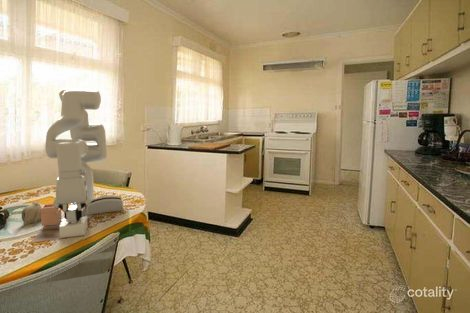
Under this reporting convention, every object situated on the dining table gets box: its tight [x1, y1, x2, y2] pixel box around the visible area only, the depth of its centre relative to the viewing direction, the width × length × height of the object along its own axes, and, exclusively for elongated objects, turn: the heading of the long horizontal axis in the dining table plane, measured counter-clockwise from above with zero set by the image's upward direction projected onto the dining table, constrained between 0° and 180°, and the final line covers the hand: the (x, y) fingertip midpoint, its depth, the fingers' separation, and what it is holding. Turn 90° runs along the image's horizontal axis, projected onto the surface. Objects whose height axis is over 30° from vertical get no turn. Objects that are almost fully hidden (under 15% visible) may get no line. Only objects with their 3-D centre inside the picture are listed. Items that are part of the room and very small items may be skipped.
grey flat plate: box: [30, 216, 92, 243], centre depth 109 cm, size 20×17×2 cm
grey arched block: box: [85, 195, 124, 216], centre depth 129 cm, size 17×5×10 cm, turn 123°
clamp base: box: [42, 203, 90, 230], centre depth 113 cm, size 8×15×10 cm, turn 111°
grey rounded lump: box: [21, 201, 42, 226], centre depth 116 cm, size 9×8×10 cm
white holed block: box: [59, 217, 89, 238], centre depth 106 cm, size 8×8×4 cm
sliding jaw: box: [40, 203, 63, 227], centre depth 111 cm, size 6×6×7 cm
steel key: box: [66, 204, 78, 223], centre depth 105 cm, size 8×3×10 cm, turn 20°
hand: (73, 219), depth 105 cm, fingers closed on steel key, 3 cm apart
